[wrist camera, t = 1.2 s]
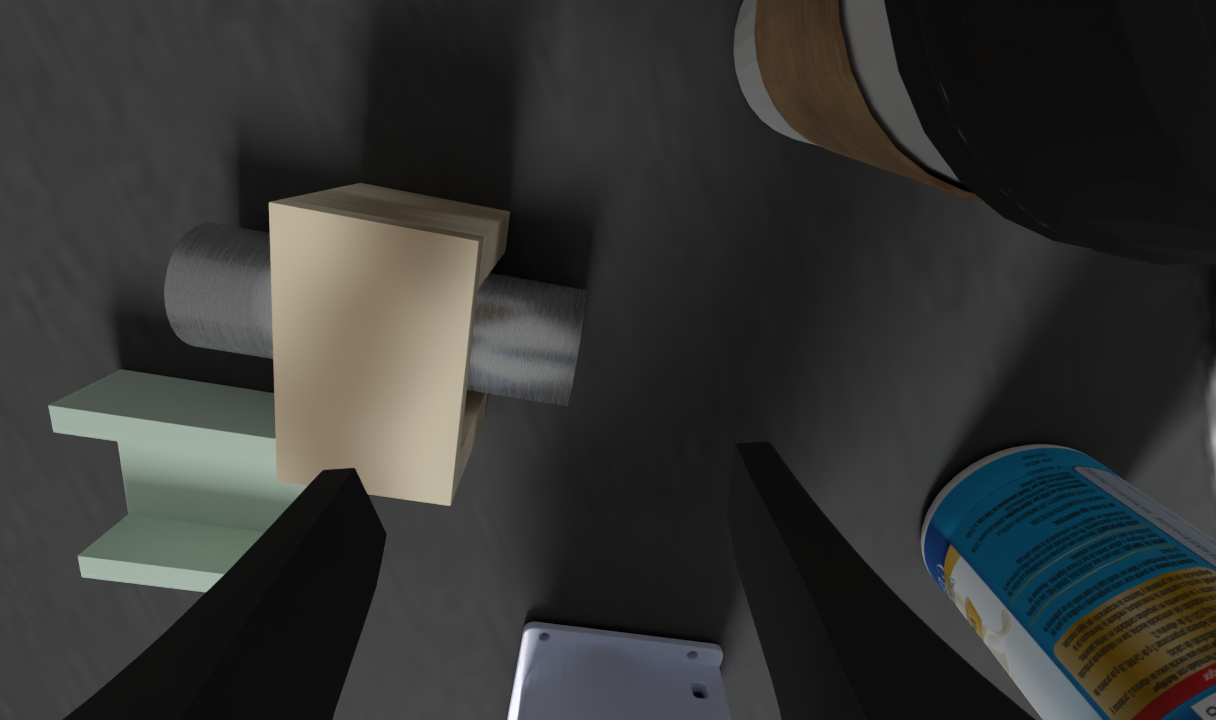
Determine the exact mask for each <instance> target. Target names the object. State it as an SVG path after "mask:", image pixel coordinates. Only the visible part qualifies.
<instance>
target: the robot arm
mask: <svg viewBox="0 0 1216 720" xmlns="http://www.w3.org/2000/svg"><path fill="white" fill-rule="evenodd" d="M727 514H728V520H729V525H730V531H731V536H732V542H733V547H734V552H735V557H736V562H737V566H738V570H739V573H740V577H741V580H742V583H743V587H744V590H745V593H746V597H747V600H748V603H749V607H750V610H751V613H752V617H753V620H754V623H755V626H756V630H757V633H758V636H759V640H760V643H761V646H762V650H763V653H764V656H765V659H766V663H767V666H768V669H769V673H770V676H771V679H772V682H773V686H774V690H775V694H776V698H777V701H778V705H779V709H780V714H781V718H782V720H1035V719H1034V718H1033V717H1031V716H1030V715H1029V714H1028V713H1027V712H1025V711H1024V710H1023V709H1022V708H1021V707H1019V706H1018V705H1017V704H1016V703H1015V702H1013V701H1012V700H1011V699H1010V698H1009V697H1007V696H1006V695H1005V694H1004V693H1003V692H1001V691H1000V690H999V689H998V688H997V687H995V686H994V685H993V684H992V683H991V682H989V681H988V680H987V679H986V678H985V677H983V676H982V675H981V674H980V673H979V672H978V671H976V670H975V669H974V668H973V667H972V666H971V665H970V664H969V663H968V662H966V661H965V660H964V659H963V658H962V657H961V656H960V655H959V654H958V653H957V652H955V651H954V650H953V649H952V648H951V647H950V646H949V645H948V644H947V643H946V642H944V641H943V640H942V639H941V638H940V637H939V636H938V635H937V634H936V633H935V632H934V631H933V630H932V629H931V628H930V627H929V626H928V625H926V624H925V623H924V622H923V621H922V620H921V619H920V618H919V617H918V616H917V615H916V614H915V613H914V612H913V611H912V610H911V609H910V608H909V607H908V606H907V605H906V604H905V603H904V602H903V601H902V600H901V599H900V598H899V597H898V596H897V595H896V594H895V593H894V592H893V591H892V590H891V589H890V588H889V587H888V586H887V585H886V583H885V582H884V581H883V580H882V579H881V578H880V577H879V576H878V575H877V574H876V573H875V572H874V571H873V569H872V568H871V567H870V566H869V565H868V564H867V563H866V562H865V561H864V560H863V559H862V557H861V556H860V555H859V554H858V553H857V552H856V551H855V550H854V549H853V547H852V546H851V545H850V544H849V543H848V542H847V540H846V539H845V538H844V537H843V536H842V535H841V533H840V532H839V531H838V530H837V529H836V527H835V526H834V525H833V524H832V523H831V522H830V520H829V519H828V518H827V517H826V516H825V514H824V513H823V512H822V511H821V509H820V508H819V507H818V506H817V504H816V503H815V502H814V501H813V499H812V498H811V497H810V496H809V494H808V493H807V492H806V490H805V489H804V488H803V487H802V485H801V484H800V483H799V481H798V480H797V479H796V477H795V476H794V475H793V473H792V472H791V471H790V469H789V468H788V467H787V465H786V464H785V462H784V461H783V460H782V458H781V457H780V456H779V454H778V453H777V451H776V450H775V448H774V447H773V446H772V445H771V444H770V443H769V442H756V443H740V444H735V452H734V460H733V469H732V477H731V486H730V494H729V503H728V511H727ZM386 535H387V534H386V532H385V530H384V528H383V526H382V523H381V521H380V519H379V517H378V515H377V513H376V511H375V509H374V507H373V505H372V503H371V500H370V498H369V496H368V494H367V492H366V490H365V488H364V486H363V484H362V482H361V479H360V477H359V475H358V473H357V471H356V469H355V468H344V469H328V470H322V471H321V472H320V473H319V475H318V476H317V477H316V478H315V479H314V480H313V481H312V482H311V483H310V484H309V485H308V486H307V487H306V488H305V489H304V490H303V491H302V493H301V494H300V495H299V496H298V497H297V498H296V499H295V500H294V501H293V502H292V503H291V504H290V506H289V507H288V508H287V509H286V510H285V511H284V512H283V513H282V514H281V515H280V516H279V517H278V519H277V520H276V521H275V522H274V523H273V524H272V525H271V526H270V527H269V528H268V529H267V530H266V531H265V532H264V534H263V535H262V536H261V537H260V538H259V539H258V540H257V541H256V542H255V543H254V544H253V545H252V546H251V547H250V548H249V549H248V550H247V551H246V552H245V554H244V555H243V556H242V557H241V558H240V559H239V560H238V561H237V562H236V563H235V564H234V565H233V566H232V567H231V568H230V569H229V570H228V571H227V572H226V573H225V574H224V575H223V576H222V577H221V578H220V579H219V580H218V581H217V582H216V583H215V584H214V585H213V586H212V587H211V588H210V589H209V590H208V591H207V592H206V593H205V594H204V595H203V596H202V597H201V598H200V599H199V600H198V601H197V602H196V603H195V604H194V605H193V606H192V607H191V608H190V609H189V610H188V611H187V612H186V613H185V614H184V615H183V616H182V617H181V618H179V619H178V620H177V621H176V622H175V623H174V624H173V625H172V626H171V627H170V628H169V629H168V630H167V631H166V632H165V633H164V634H163V635H162V636H160V637H159V638H158V639H157V640H156V641H155V642H154V643H153V644H152V645H151V646H150V647H148V648H147V649H146V650H145V651H144V652H143V653H142V654H141V655H140V656H138V657H137V658H136V659H135V660H134V661H133V662H131V663H130V664H129V665H128V666H127V667H126V668H125V669H123V670H122V671H121V672H120V673H119V674H118V675H116V676H115V677H114V678H113V679H112V680H111V681H110V682H108V683H107V684H106V685H105V686H104V687H103V688H101V689H100V690H99V691H98V692H97V693H95V694H94V695H93V696H92V697H91V698H89V699H88V700H87V701H86V702H85V703H83V704H82V705H81V706H79V707H78V708H77V709H76V710H74V711H73V712H72V713H71V714H69V715H68V716H67V717H66V718H64V719H63V720H332V719H333V716H334V712H335V709H336V706H337V703H338V700H339V697H340V694H341V691H342V688H343V685H344V682H345V679H346V676H347V673H348V670H349V667H350V664H351V661H352V658H353V655H354V653H355V650H356V647H357V644H358V641H359V638H360V635H361V632H362V629H363V626H364V623H365V620H366V617H367V614H368V611H369V608H370V605H371V601H372V598H373V595H374V592H375V589H376V585H377V581H378V576H379V571H380V567H381V562H382V557H383V551H384V546H385V540H386ZM542 633H547V634H542ZM690 651H693V652H690ZM722 659H723V653H722V649H721V647H720V646H719V645H716V644H712V643H704V642H696V641H688V640H680V639H672V638H664V637H655V636H647V635H639V634H631V633H623V632H615V631H607V630H599V629H591V628H583V627H575V626H566V625H558V624H550V623H542V622H530V623H527V624H526V625H525V627H524V629H523V634H522V640H521V645H520V651H519V656H518V662H517V667H516V673H515V678H514V684H513V689H512V695H511V700H510V705H509V711H508V716H507V720H732V719H731V714H730V710H729V706H728V702H727V698H726V693H725V689H724V685H723V681H722V677H721V672H720V668H719V667H720V664H721V662H722Z"/></svg>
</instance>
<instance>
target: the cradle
mask: <svg viewBox="0 0 1216 720" xmlns="http://www.w3.org/2000/svg"><path fill="white" fill-rule="evenodd" d="M48 406H49V411H50V416H51V422H52V427H53V432H56V433H63V434H70V435H77V436H84V437H91V438H98V439H105V440H112V441H118V448H119V455H120V461H121V468H122V475H123V482H124V488H125V495H126V502H127V509H128V515H127V516H126V517H125V518H123V519H122V520H121V521H120V522H118V523H117V524H116V525H115V526H114V527H112V528H111V529H110V530H109V531H107V532H106V533H105V534H104V535H103V536H101V537H100V538H99V539H98V540H96V541H95V542H94V543H93V544H92V545H90V546H89V547H88V548H87V549H86V550H84V551H83V552H82V553H81V554H79V555H78V560H79V565H80V570H81V575H82V577H85V578H93V579H101V580H110V581H118V582H126V583H134V584H142V585H151V586H159V587H167V588H175V589H183V590H192V591H200V592H207V591H208V590H209V589H210V588H211V587H212V586H213V585H214V584H215V583H216V582H217V581H218V580H219V579H220V578H221V577H222V576H223V575H224V574H225V573H226V572H227V571H228V570H229V569H230V568H231V567H232V566H233V565H234V564H235V563H236V562H237V561H238V560H239V559H240V558H241V557H242V556H243V555H244V554H245V552H246V551H247V550H248V549H249V548H250V547H251V546H252V545H253V544H254V543H255V542H256V541H257V540H258V539H259V538H260V537H261V536H262V535H263V534H264V532H265V531H266V530H267V529H268V528H269V527H270V526H271V525H272V524H273V523H274V522H275V521H276V520H277V519H278V517H279V516H280V515H281V514H282V513H283V512H284V511H285V510H286V509H287V508H288V507H289V506H290V504H291V503H292V502H293V501H294V500H295V499H296V498H297V497H298V496H299V495H300V494H301V493H302V491H303V490H304V489H305V488H306V487H307V486H306V485H299V484H292V483H284V482H277V467H276V432H275V398H274V393H270V392H264V391H257V390H251V389H245V388H238V387H232V386H225V385H219V384H212V383H206V382H199V381H193V380H187V379H180V378H174V377H167V376H161V375H154V374H148V373H142V372H135V371H129V370H122V369H120V370H118V371H116V372H114V373H112V374H110V375H108V376H106V377H104V378H102V379H100V380H98V381H96V382H94V383H92V384H90V385H88V386H86V387H84V388H82V389H80V390H78V391H76V392H74V393H72V394H70V395H68V396H66V397H64V398H62V399H60V400H58V401H56V402H54V403H52V404H50V405H48Z"/></svg>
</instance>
